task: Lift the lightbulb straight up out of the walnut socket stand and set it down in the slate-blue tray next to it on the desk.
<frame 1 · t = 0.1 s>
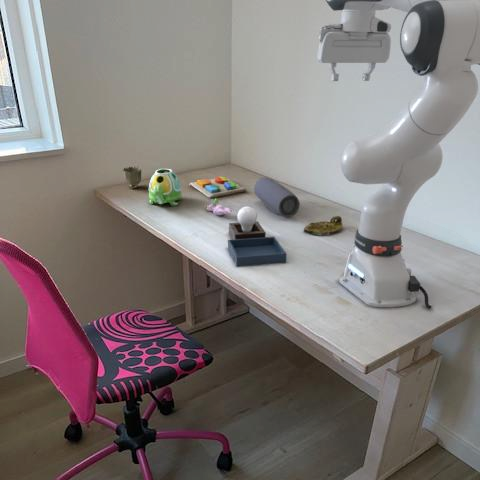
hand: (350, 80, 143), 48 cm above the table, tool pointing down, fingers open, 8 cm apart
puzzle board: (217, 190, 211), on the table
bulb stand: (246, 239, 167), on the table
lightbulb: (246, 239, 167), resting in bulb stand
tray: (256, 255, 156), on the table
turtle holder: (165, 203, 195), on the table
rabbit figure: (218, 215, 186), on the table
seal: (323, 230, 175), on the table
bluetooth speaker: (275, 210, 191), on the table
cup: (134, 188, 211), on the table
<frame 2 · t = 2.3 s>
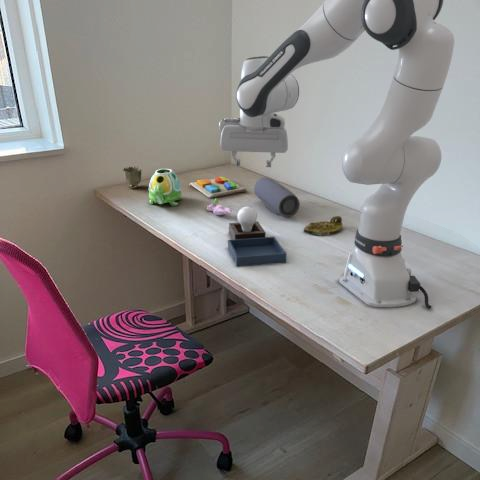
hand: (253, 166, 154), 24 cm above the table, tool pointing down, fingers open, 8 cm apart
nothing on the table moved.
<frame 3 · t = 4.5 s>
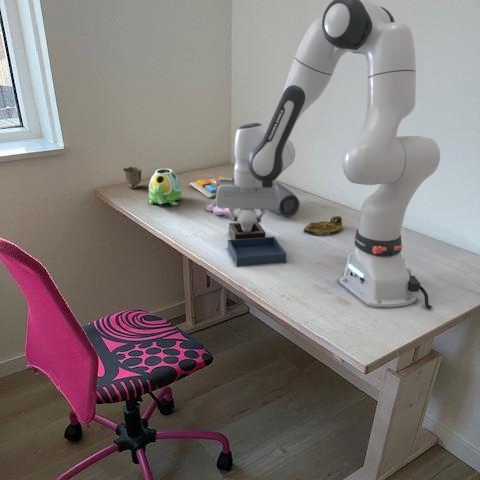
hand: (247, 221, 163), 6 cm above the table, tool pointing down, fingers closed on lightbulb, 6 cm apart
lightbulb: (246, 239, 167), resting in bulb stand, touching gripper
everything else where it was.
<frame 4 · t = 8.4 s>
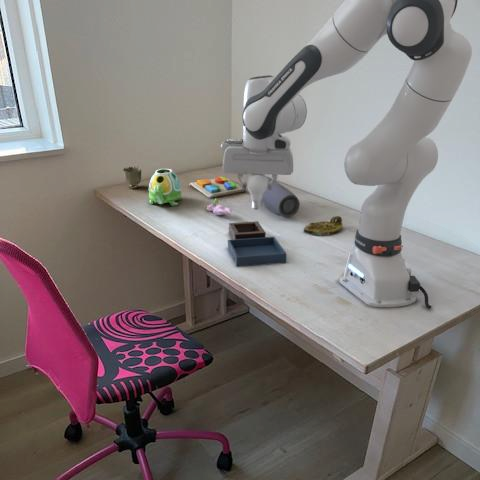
hand: (257, 188, 147), 20 cm above the table, tool pointing down, fingers closed on lightbulb, 6 cm apart
lightbulb: (256, 209, 151), point 14 cm above the table, touching gripper
everything else where it was.
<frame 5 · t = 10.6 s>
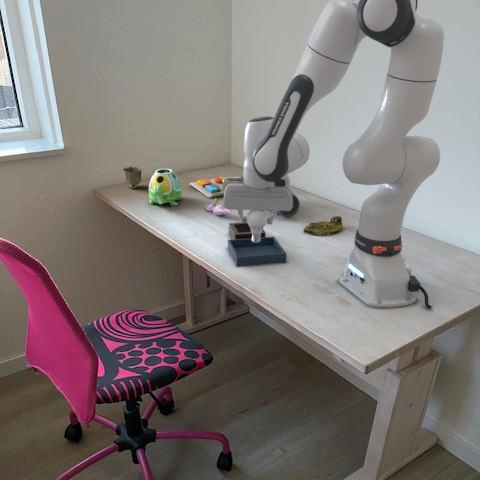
hand: (256, 223, 150), 10 cm above the table, tool pointing down, fingers closed on lightbulb, 6 cm apart
lightbulb: (256, 243, 154), point 4 cm above the table, touching gripper
everything else where it was.
when the fingers open (6 cm above the table, at t = 12.2 s): lightbulb stays where it is, resting on tray.
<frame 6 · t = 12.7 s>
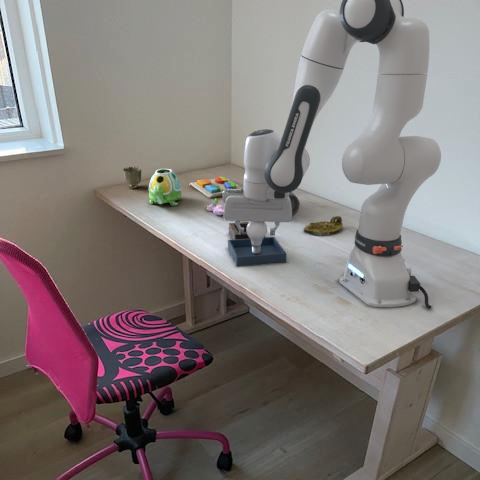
hand: (256, 234, 152), 7 cm above the table, tool pointing down, fingers open, 8 cm apart
lightbulb: (256, 254, 156), resting on tray
everything else where it was.
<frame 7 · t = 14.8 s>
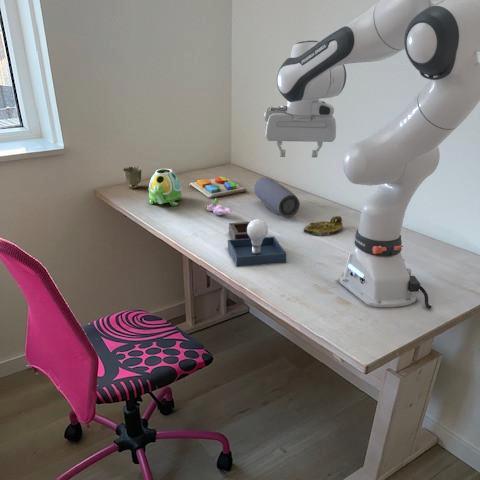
hand: (298, 156, 149), 28 cm above the table, tool pointing down, fingers open, 8 cm apart
nothing on the table moved.
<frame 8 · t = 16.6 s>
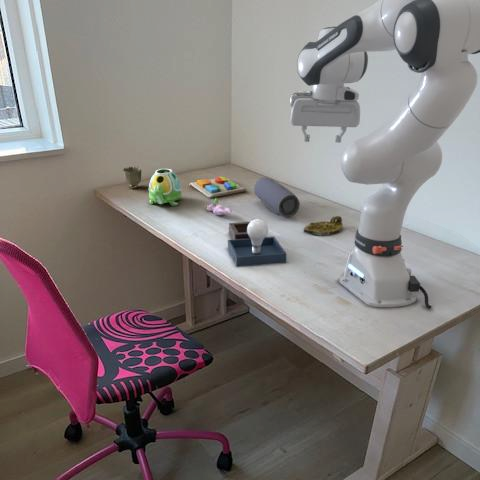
hand: (322, 141, 152), 31 cm above the table, tool pointing down, fingers open, 8 cm apart
nothing on the table moved.
at the end: lightbulb inside the target area on the tray (0.3 cm from its centre), point 0.3 cm above the tray's base; lightbulb touching tray; the gripper is holding nothing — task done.
